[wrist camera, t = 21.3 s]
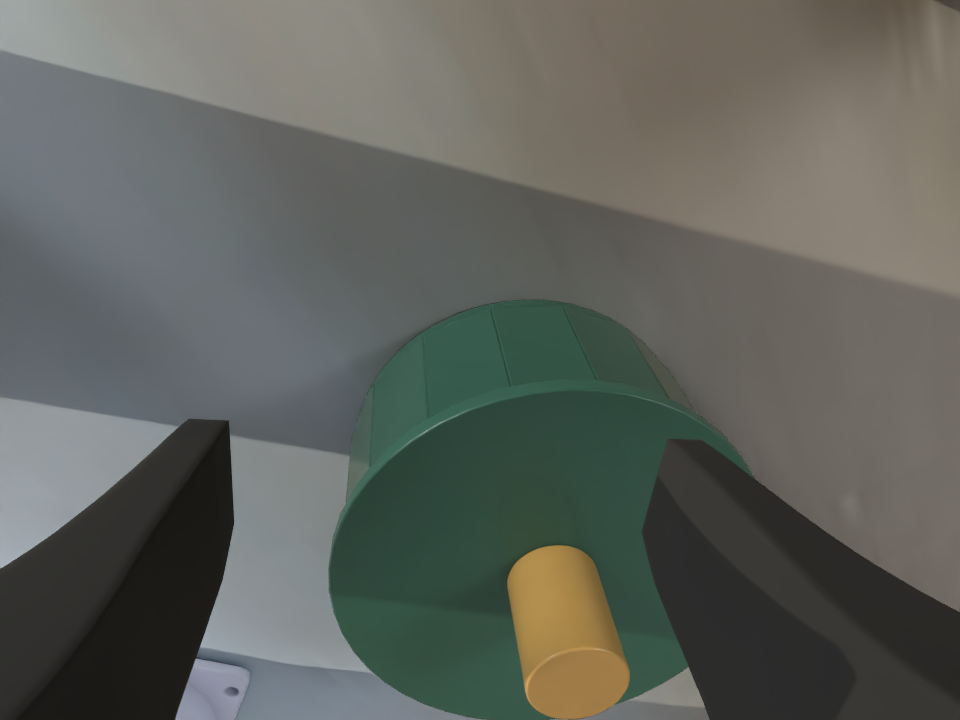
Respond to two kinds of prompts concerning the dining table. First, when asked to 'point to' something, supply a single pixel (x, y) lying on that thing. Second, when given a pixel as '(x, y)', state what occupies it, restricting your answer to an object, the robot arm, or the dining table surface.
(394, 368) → the tin
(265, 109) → the dining table surface
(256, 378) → the dining table surface
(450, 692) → the tin lid
